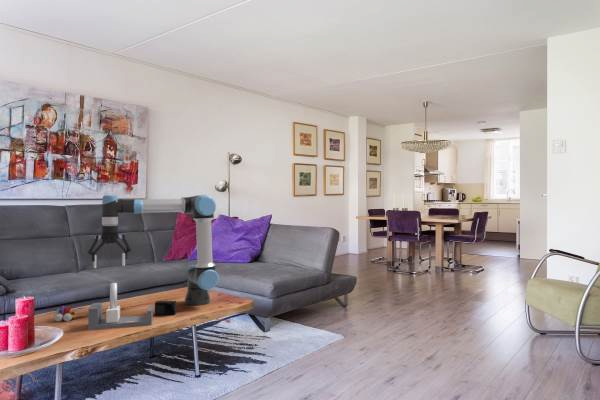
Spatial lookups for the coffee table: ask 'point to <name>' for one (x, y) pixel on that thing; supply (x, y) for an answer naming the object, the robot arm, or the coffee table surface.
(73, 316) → the rainbow disc rattle
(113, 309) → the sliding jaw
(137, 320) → the bench clamp
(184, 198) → the robot arm
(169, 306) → the digital camera
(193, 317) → the coffee table surface
